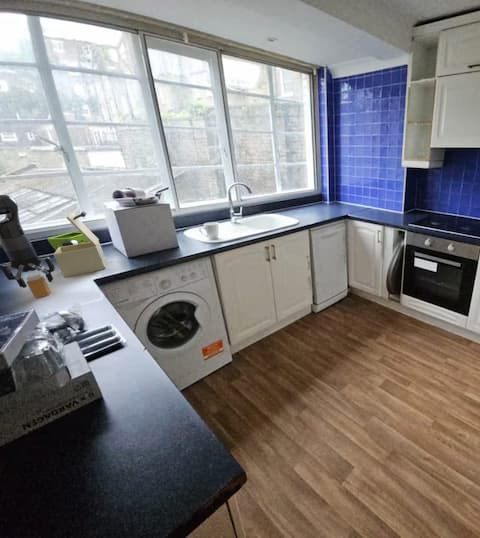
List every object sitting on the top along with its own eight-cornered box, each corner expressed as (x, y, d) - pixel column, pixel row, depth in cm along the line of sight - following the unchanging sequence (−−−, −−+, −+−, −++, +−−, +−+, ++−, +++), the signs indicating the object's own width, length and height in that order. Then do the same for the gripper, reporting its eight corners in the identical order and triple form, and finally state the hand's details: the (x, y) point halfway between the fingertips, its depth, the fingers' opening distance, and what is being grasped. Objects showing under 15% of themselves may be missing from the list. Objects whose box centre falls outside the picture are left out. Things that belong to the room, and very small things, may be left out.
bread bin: (64, 277, 141) (53, 254, 136) (68, 268, 151) (58, 247, 146) (105, 268, 149) (96, 247, 144) (107, 261, 159) (98, 240, 155)
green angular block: (101, 251, 175) (92, 231, 170) (77, 260, 162) (67, 238, 157) (81, 251, 177) (72, 231, 172) (56, 260, 164) (45, 238, 159)
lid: (66, 217, 135) (79, 211, 137) (70, 213, 145) (83, 207, 147) (95, 246, 144) (107, 240, 146) (97, 240, 154) (108, 234, 156)
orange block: (35, 298, 122) (24, 278, 118) (37, 294, 125) (27, 275, 121) (49, 295, 124) (39, 275, 120) (51, 291, 127) (41, 272, 123)
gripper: (45, 241, 122) (62, 276, 129) (-6, 248, 115) (16, 286, 121) (41, 245, 117) (59, 282, 123) (-12, 254, 109) (10, 293, 116)
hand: (38, 284), depth 122 cm, fingers open, 7 cm apart
